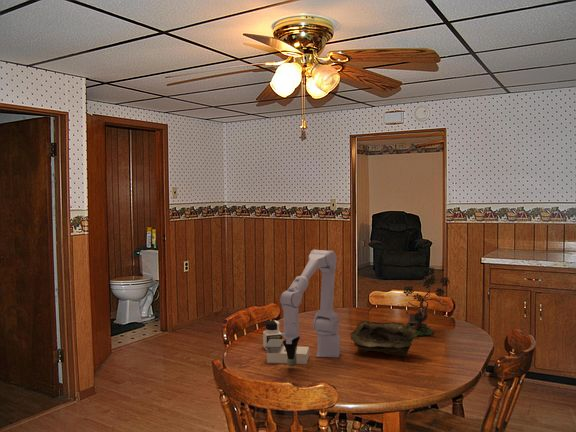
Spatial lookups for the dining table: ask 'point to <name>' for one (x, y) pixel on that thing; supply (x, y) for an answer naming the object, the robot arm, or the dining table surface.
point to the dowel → (292, 361)
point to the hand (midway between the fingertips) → (291, 357)
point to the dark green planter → (384, 337)
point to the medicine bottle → (271, 332)
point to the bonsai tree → (419, 318)
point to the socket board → (284, 352)
